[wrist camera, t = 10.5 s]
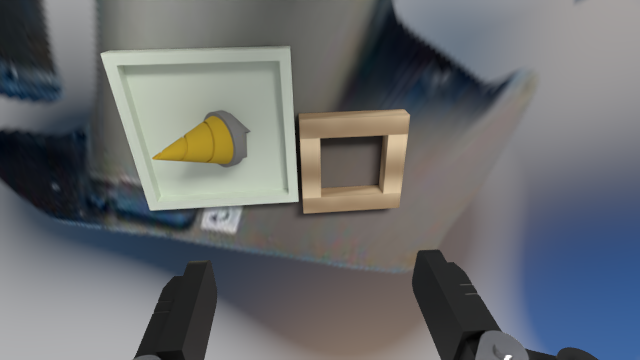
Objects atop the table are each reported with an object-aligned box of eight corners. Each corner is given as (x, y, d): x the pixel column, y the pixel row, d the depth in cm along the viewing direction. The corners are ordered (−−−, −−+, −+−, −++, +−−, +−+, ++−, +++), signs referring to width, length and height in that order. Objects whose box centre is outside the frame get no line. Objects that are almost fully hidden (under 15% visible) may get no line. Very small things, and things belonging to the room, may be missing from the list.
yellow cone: (248, 162, 36) (156, 194, 29) (228, 116, 36) (131, 137, 29) (275, 148, 32) (176, 182, 25) (253, 96, 32) (147, 116, 25)
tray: (110, 50, 30) (100, 53, 28) (290, 45, 31) (290, 48, 29) (155, 201, 37) (150, 210, 36) (298, 193, 39) (298, 201, 37)
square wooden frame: (298, 113, 34) (299, 119, 32) (403, 109, 35) (410, 115, 33) (302, 203, 39) (303, 213, 38) (394, 198, 40) (398, 207, 38)
